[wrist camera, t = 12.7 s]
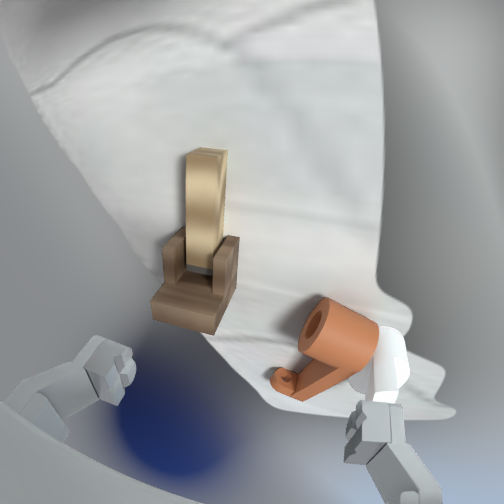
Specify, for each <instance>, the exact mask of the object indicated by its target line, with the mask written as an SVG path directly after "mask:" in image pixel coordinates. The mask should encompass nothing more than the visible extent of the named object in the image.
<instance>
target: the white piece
mask: <svg viewBox="0 0 504 504" xmlns="http://www.w3.org/2000/svg"><path fill="white" fill-rule="evenodd" d="M378 327H379V340H378V344H377V347H376V350H375V352H374V354H373V356H372V358H371V359H370V361H369V362H368V363H367V365H366V366H365V367H364V368H363V369H362V370H361V371H359V372H358V373H356V374H354V375H352V376H350V377H349V378H348V379H349V384H350V386H351V387H352V388H353V389H354V390H355V391H357V392H360V393H362V394H365V401H375V402H387V403H395V401H396V398H397V395H398V393H399V390H398V388H399V387H401V386H402V385H403V384H404V383H405V382H406V381H407V379H408V377H409V373H410V369H409V363H408V357H407V351H406V346H405V341H404V338H403V336H402V334H401V333H400V332H399V331H397V330H396V329H394V328H391V327H387V326H378Z"/></svg>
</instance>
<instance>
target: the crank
mask: <svg viewBox="0 0 504 504" xmlns="http://www.w3.org/2000/svg"><path fill="white" fill-rule="evenodd" d="M378 340H379V327H378V325H377V323H375V322H373V321H371V320H370V319H368V318H366V317H364V316H362V315H360V314H358V313H356V312H354V311H352V310H350V309H348V308H346V307H344V306H342V305H340V304H338V303H336V302H335V301H333V300H331V299H329V298H324V299H322V300H321V301H320V302H319V303H318V304H317V306H316V307H315V308H314V310H313V311H312V312H311V313H310V315H309V317H308V318H307V320H306V322H305V324H304V327H303V329H302V331H301V334H300V338H299V342H298V350H299V352H301V353H303V354H305V355H307V356H310V357H312V358H314V359H313V360H312V361H311V362H310V363H309V364H308V365H307V366H306V367H305V368H304V369H303V370H302V371H301V372H300V373H299V374H296V373H294V372H291V371H289V370H287V369H285V368H279V369H277V370H276V371H275V373H274V374H273V375H272V376H271V377H270V383H271V386H272V387H273V388H274V389H275V390H276V391H278V392H280V393H282V394H285V395H287V396H290V397H292V398H294V399H297V400H299V401H302V402H303V401H305V400H307V399H309V398H311V397H313V396H315V395H317V394H319V393H321V392H323V391H325V390H327V389H328V388H330V387H332V386H334V385H336V384H338V383H340V382H341V381H343V380H345V379H347V378H349V377H350V376H352V375H354V374H356V373H358V372H359V371H361V370H362V369H363V368H364V367H365V366H366V365H367V363H368V362H369V361H370V359H371V358H372V356H373V354H374V352H375V350H376V347H377V344H378ZM281 378H282V379H284V380H285V382H284V381H283V380H282V379H281Z"/></svg>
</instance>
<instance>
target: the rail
mask: <svg viewBox="0 0 504 504" xmlns="http://www.w3.org/2000/svg"><path fill="white" fill-rule="evenodd" d="M227 156H228V150H220V149H210V148H198V149H196V150H194V151H192V152H190V153H188V154H186V261H187V271H191V272H195V273H200V274H205V275H209V276H213V258H214V256H215V255H216V253H217V252H218V250H219V249H220V247H221V246H222V244H223V227H224V207H225V189H226V172H227Z"/></svg>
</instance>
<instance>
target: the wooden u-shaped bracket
mask: <svg viewBox="0 0 504 504" xmlns="http://www.w3.org/2000/svg"><path fill="white" fill-rule="evenodd" d="M239 238H240V237H235V236H229V235H228V237H227V238H226V240H225V241H224V243H223V244H222V246H221V247H220V249H219V250H218V252H217V253H216V255H215V256H214V258H213V276H209V275H205V274H200V273H195V272H191V271H187V261H186V228H184V227H182V228H181V229H180V230H179V231H178V232H177V233H176V234H175V235H174V236H173V237H172V238H171V239H170V240H169V241H168V242H167V243H166V244H165V245H164V246H163V247H162V256H163V269H164V284H163V285H162V286H161V288H160V289H159V290H158V291H157V293H156V294H155V295H154V296H153V298H152V299H151V301H150V302H151V309H152V316H153V319H154V320H157V321H161V322H164V323H168V324H172V325H175V326H179V327H183V328H186V329H190V330H194V331H198V332H202V333H206V334H210V335H214V334H215V332H216V330H217V328H218V325H219V323H220V321H221V319H222V317H223V315H224V312H225V310H226V308H227V306H228V304H229V302H230V300H231V297H232V295H233V293H234V291H235V289H236V280H237V266H238V252H239Z"/></svg>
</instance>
